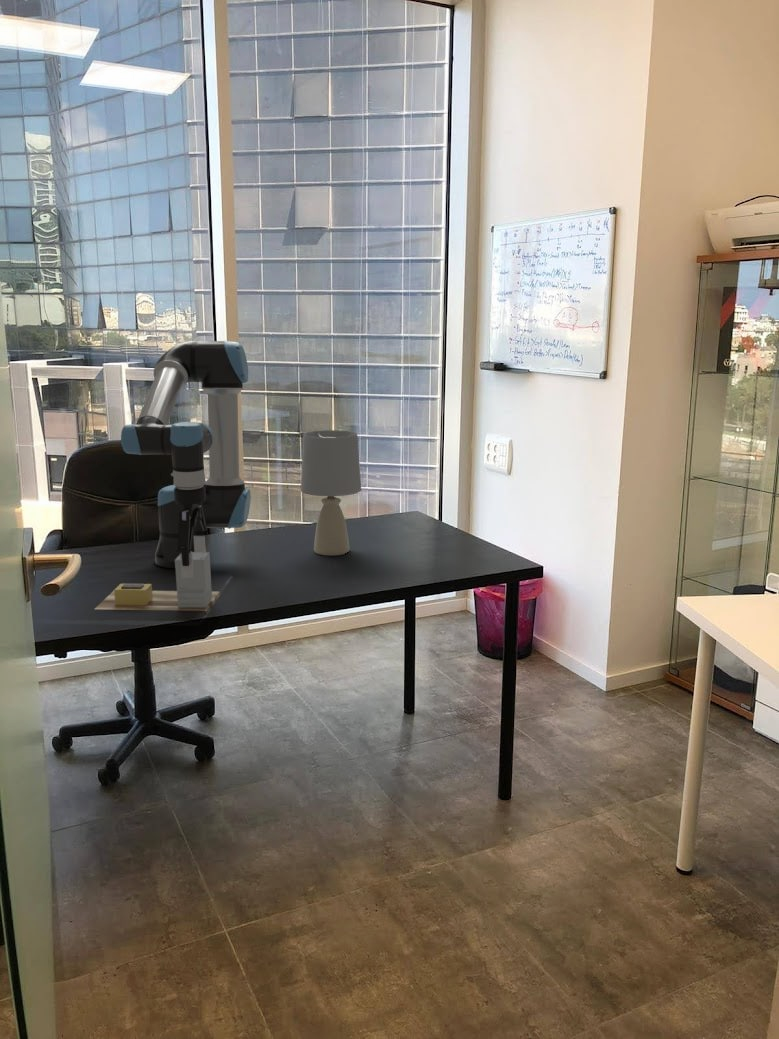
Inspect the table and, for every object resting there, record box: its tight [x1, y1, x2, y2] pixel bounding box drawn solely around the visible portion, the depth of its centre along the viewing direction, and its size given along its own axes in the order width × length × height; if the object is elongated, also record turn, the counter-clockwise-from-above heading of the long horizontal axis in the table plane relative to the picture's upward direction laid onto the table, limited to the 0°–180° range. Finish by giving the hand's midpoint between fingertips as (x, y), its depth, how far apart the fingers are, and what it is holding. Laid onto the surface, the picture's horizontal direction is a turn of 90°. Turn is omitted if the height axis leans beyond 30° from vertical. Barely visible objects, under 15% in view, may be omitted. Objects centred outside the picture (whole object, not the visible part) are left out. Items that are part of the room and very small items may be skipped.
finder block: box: [113, 583, 153, 605], centre depth 219 cm, size 5×8×4 cm, turn 89°
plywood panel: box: [94, 590, 221, 615], centre depth 221 cm, size 15×28×1 cm, turn 89°
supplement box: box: [174, 551, 213, 608], centre depth 217 cm, size 7×7×13 cm
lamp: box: [300, 429, 362, 557], centre depth 266 cm, size 19×19×37 cm
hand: (194, 568), depth 217 cm, fingers open, 13 cm apart
